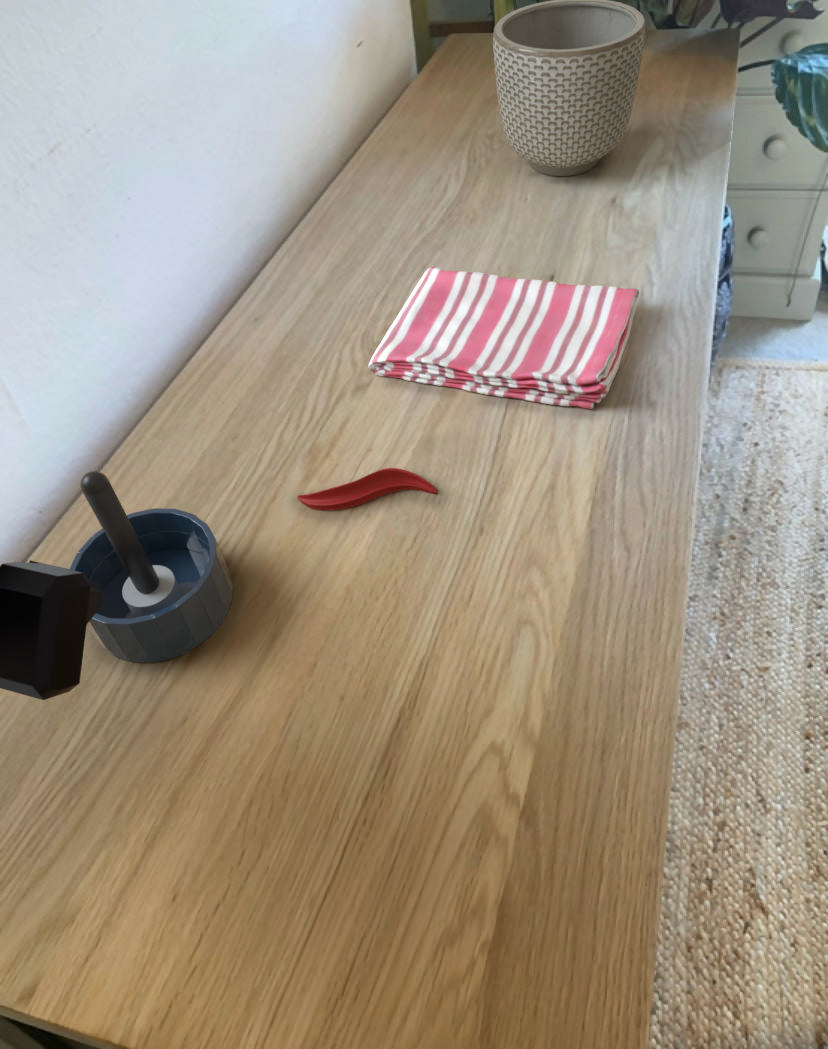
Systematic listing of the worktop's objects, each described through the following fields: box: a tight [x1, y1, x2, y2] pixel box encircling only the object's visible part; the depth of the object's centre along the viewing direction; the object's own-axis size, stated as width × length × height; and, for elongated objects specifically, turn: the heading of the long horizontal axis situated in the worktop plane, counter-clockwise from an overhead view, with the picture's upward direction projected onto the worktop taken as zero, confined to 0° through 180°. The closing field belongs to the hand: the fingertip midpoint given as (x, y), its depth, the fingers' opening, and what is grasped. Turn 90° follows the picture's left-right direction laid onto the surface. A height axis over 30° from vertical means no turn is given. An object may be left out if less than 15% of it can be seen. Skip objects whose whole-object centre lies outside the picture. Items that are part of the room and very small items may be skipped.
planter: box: [492, 0, 646, 177], centre depth 103 cm, size 17×17×16 cm
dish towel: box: [367, 266, 640, 410], centre depth 84 cm, size 17×23×4 cm
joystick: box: [79, 470, 184, 618], centre depth 61 cm, size 4×4×14 cm
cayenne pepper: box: [297, 467, 438, 511], centre depth 72 cm, size 12×5×2 cm, turn 82°
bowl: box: [68, 507, 234, 664], centre depth 65 cm, size 11×11×5 cm
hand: (36, 583), depth 53 cm, fingers open, 9 cm apart
